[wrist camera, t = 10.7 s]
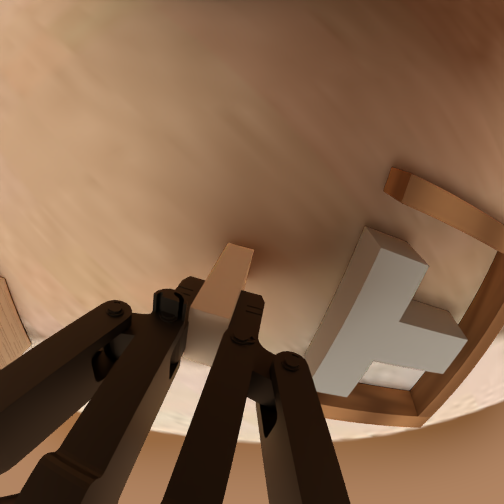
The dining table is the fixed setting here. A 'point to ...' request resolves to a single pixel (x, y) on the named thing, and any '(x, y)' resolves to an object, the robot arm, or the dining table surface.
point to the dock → (472, 325)
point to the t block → (380, 319)
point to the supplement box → (10, 329)
